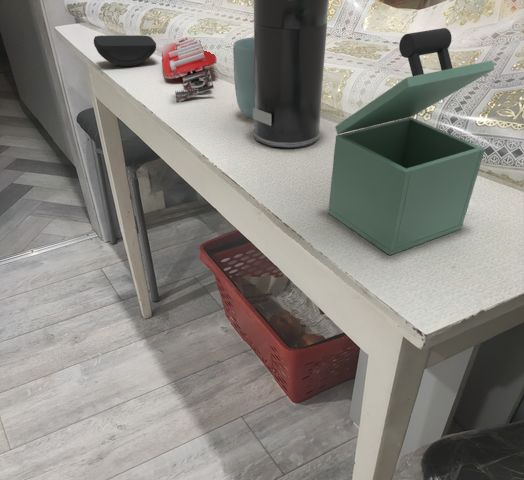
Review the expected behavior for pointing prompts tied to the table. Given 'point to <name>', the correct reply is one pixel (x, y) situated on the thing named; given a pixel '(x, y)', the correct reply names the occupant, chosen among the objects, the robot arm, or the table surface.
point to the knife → (202, 78)
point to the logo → (187, 65)
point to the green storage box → (402, 183)
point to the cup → (244, 75)
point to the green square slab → (417, 82)
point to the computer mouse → (125, 49)
